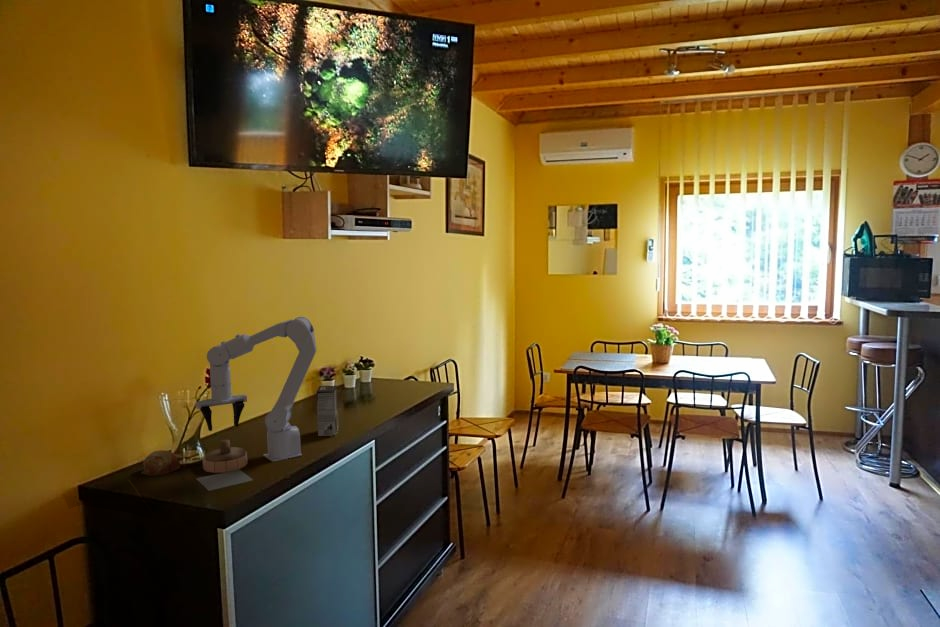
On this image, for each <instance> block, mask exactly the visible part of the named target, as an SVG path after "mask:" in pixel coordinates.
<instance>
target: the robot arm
mask: <svg viewBox="0 0 940 627" xmlns="http://www.w3.org/2000/svg"><path fill="white" fill-rule="evenodd" d="M277 337H280V338H287V337H288V338H289V339H290V340H291V341H292V342H293V343H294V345H295V346H296V348H297V350H298V354H297V356H296V358H295V361H294V363H293V366H292V368H291V370H290V372H289V373H288V377H287V378H286V381H285V382H284V385H283V388H282V390H281V392H280V394H279V397H278V399H277V400H276V402H275V404H274V406H273V407H272V409H271V411H269V412H268V413H267V414H266V415H265V418H264V423H265V424H264V425H265V426H266V438H267V440H266V441H267V453H264V454H263V457H265V458H266V459H268V460H269V461H271V462H277V461H278V462H279V461H282V460H286V459H287V460H289V459H293V458H298V457H302V456H303V454H302V451H301V448H302V446H301V434H300V431H299V430H300V429H299V428H298V427H297V425H291V423H290V422H289V421H290V420H291V417H292V408H293V405H294V403H295V400H296V398H297V396H298V393H299V391H300V389H301V386H302V384H303V382H304V380H305V377H306V375H307V373H308V371H309V369H310V367H311V363H312V362H313V360H314V357H315V355H316V353H317V343H316V337H315V328H314V326H313V324H312V323H311V321H310V320H309V319H308V318H307V317H304V316H298V317H296V318H294V319H288V320H285V321H281V322H278V323H276V324H274V325H272V326H269V327H267V328H265V329H262V330H261V331H259V332H256V333H254V334H252V335H248V334H245V333H243V334H241V333H238V334H235V336H234V338H232V339H229V340H227V341H225V340H224V341H223V340H222V341H220V344H217V345H216V346H212V347H211V348H210V349H209V350H208V351H207V352H206V359H207V360H206V361H208V363H209V369H210V370H209V374H210V392H211V394H210V395H211V398H207V399H203V400H197V401H195V408H196V409H197V410H199V411H200V413H201V415H202V416H203V417H204V420H205V421H206V425H207V430H208V431H209V432H211V431H213V422H212V421H213V420H212V413H213V412H212V409H211V407H217V406H224V405H231V404H232V410H233V425H234V427H236V428H237V427H239V421H240V418H241V415H242V412H243V410H244V408H245V403H246V402H248V396H247V395H246V394H240V395H239V394H238V395H237V394H236V395H232V381H231V380H232V379H231V377H232V376H231V368H230V365H231V364H230V361H231V360H235V359H236V358H239V357H242V356H244V355H246V354H248V353H250V352H253V351H254V347H255V346H256V345H258V344H261V343H264V342H266V341H269V340H271V339H274V338H277ZM288 458H289V459H288Z"/></svg>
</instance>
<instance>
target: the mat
mask: <svg viewBox="0 0 940 627" xmlns="http://www.w3.org/2000/svg"><path fill="white" fill-rule="evenodd" d="M195 479H196V480H197V481H198V482H199V483H200V485H201V486H203V487H204V488H205V489H206V491H208V492H210V491H214V490H219V489H223V488H228V487H232V486H235V485H239V484H240V485H241V484H245V483H249V482H252V481H254V479H253V478H252V477H250V476H249V475H247V474H246V473H245V472H244V471H243V470H242V469H241V468H240V469H237V470H232V471H228V472H219V473H214V474H211V475H205V476H202V477H197V478H195Z"/></svg>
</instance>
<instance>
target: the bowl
mask: <svg viewBox="0 0 940 627" xmlns="http://www.w3.org/2000/svg"><path fill="white" fill-rule="evenodd" d="M247 464H248V451H246V450H245V455H244V456H242V457H240V458H237V459H234V460H229V461H221V462H214V461H208V460H206V458H205V455H204V456H203V457H202V470H204V471H205V472H207V473H214V474H219V473H223V472H228V471H232V470H237V469H240V470H241V469H242V468H245V467H246V466H247Z"/></svg>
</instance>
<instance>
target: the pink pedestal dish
mask: <svg viewBox="0 0 940 627" xmlns="http://www.w3.org/2000/svg"><path fill="white" fill-rule="evenodd" d="M245 451H246V450H245V448H243V447H237V446H235V447H234V446H231V440H230V439H222V440H220V441H219V448H217V449H213V450H210V451H208V452H207V453H205V454H204V456H205V458H206V460H208V461H214V462H221V461H229V460H234V459H237V458H240V457H242V456H244V455H245Z"/></svg>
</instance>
